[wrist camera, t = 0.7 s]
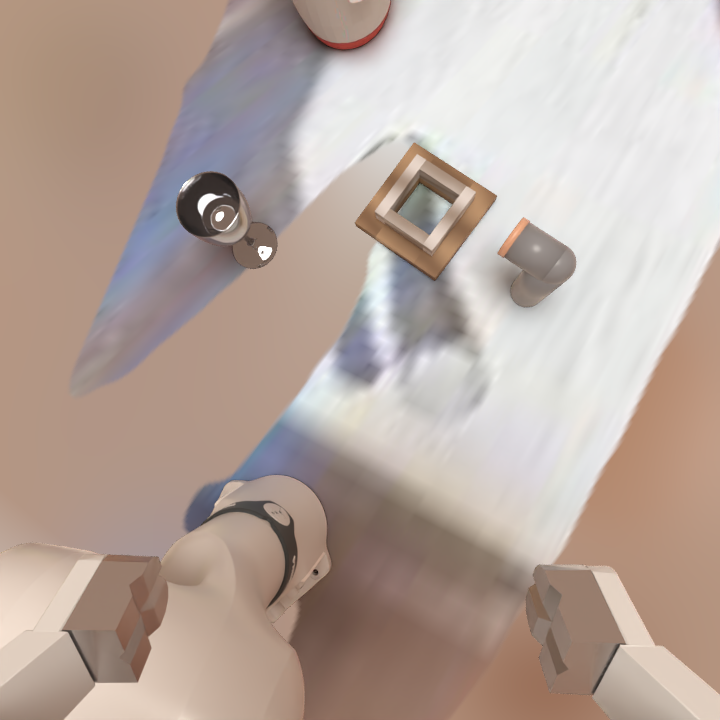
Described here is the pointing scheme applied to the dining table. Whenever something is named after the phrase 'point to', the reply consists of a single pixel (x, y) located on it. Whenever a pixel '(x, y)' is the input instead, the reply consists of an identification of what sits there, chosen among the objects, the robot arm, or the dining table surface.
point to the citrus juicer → (343, 20)
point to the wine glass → (224, 219)
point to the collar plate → (408, 238)
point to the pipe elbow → (536, 263)
